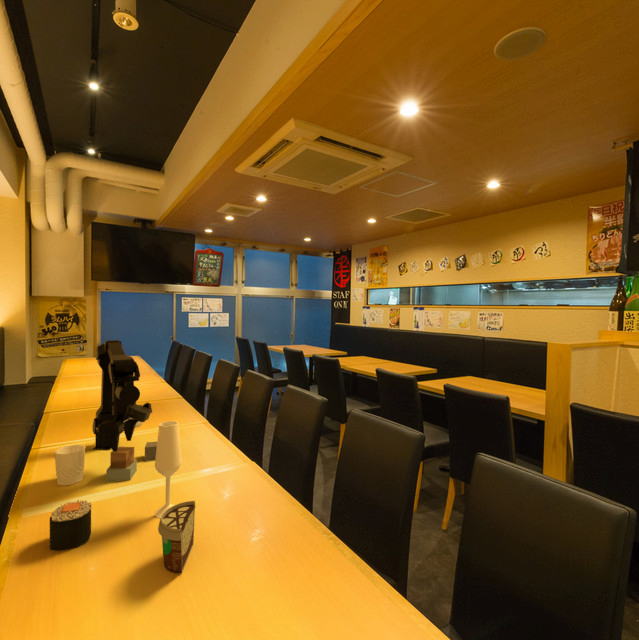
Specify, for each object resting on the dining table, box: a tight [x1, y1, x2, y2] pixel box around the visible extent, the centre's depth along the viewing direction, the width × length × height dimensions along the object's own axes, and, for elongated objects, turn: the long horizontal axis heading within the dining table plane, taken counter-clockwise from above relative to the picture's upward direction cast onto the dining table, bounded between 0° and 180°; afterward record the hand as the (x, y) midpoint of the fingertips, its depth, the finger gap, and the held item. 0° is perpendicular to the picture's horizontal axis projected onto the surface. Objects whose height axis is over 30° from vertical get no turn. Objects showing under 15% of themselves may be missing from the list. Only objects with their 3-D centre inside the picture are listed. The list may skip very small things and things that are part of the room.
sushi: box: [49, 499, 93, 552], centre depth 87 cm, size 8×8×8 cm
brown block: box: [144, 441, 157, 462], centre depth 135 cm, size 5×5×5 cm
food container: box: [157, 500, 196, 575], centre depth 81 cm, size 12×6×10 cm, turn 5°
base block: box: [105, 459, 138, 483], centre depth 120 cm, size 7×7×4 cm
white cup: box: [54, 444, 86, 486], centre depth 116 cm, size 8×8×10 cm
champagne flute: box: [154, 420, 183, 519], centre depth 100 cm, size 7×7×24 cm
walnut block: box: [109, 446, 135, 469], centre depth 120 cm, size 5×5×5 cm
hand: (122, 445), depth 119 cm, fingers open, 9 cm apart
